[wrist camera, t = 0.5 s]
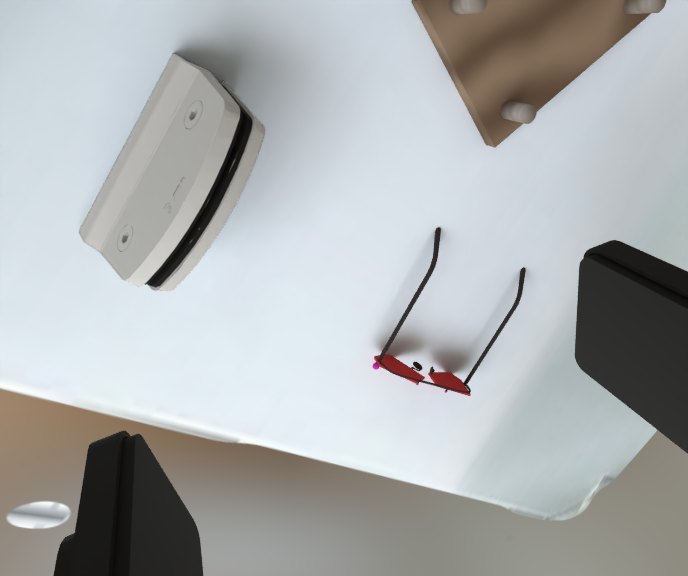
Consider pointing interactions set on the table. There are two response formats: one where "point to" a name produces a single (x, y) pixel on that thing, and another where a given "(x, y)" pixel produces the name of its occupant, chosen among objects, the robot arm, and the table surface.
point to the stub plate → (522, 50)
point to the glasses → (439, 378)
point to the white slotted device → (174, 178)
